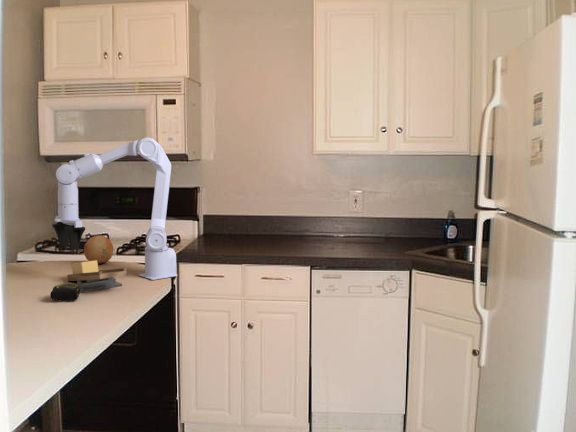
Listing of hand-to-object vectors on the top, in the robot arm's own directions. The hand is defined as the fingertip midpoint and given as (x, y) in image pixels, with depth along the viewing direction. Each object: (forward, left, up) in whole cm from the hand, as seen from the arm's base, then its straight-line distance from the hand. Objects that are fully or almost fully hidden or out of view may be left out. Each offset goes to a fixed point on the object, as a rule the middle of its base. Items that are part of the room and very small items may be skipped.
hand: (69, 247), depth 164 cm
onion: (-16, -14, -10) cm, 24 cm away
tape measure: (+10, +22, -10) cm, 26 cm away
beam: (-2, +14, -7) cm, 16 cm away
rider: (-2, +7, -8) cm, 10 cm away
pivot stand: (-2, +14, -10) cm, 17 cm away
